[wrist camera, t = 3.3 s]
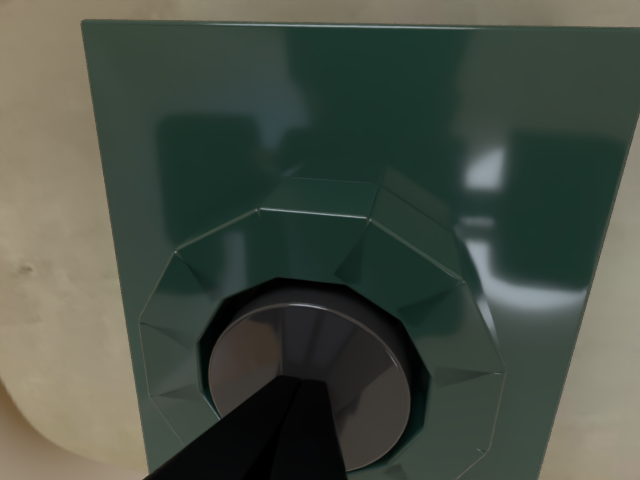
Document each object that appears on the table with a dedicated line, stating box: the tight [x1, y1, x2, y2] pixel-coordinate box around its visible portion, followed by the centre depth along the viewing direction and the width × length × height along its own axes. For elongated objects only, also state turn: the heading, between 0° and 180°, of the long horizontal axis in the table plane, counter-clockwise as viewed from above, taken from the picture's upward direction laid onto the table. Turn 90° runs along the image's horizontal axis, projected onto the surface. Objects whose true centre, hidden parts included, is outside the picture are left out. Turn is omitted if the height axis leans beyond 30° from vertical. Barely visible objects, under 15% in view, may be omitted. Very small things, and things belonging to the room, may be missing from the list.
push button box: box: [81, 19, 640, 480], centre depth 11 cm, size 12×10×6 cm
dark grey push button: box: [209, 278, 412, 471], centre depth 9 cm, size 4×4×2 cm
